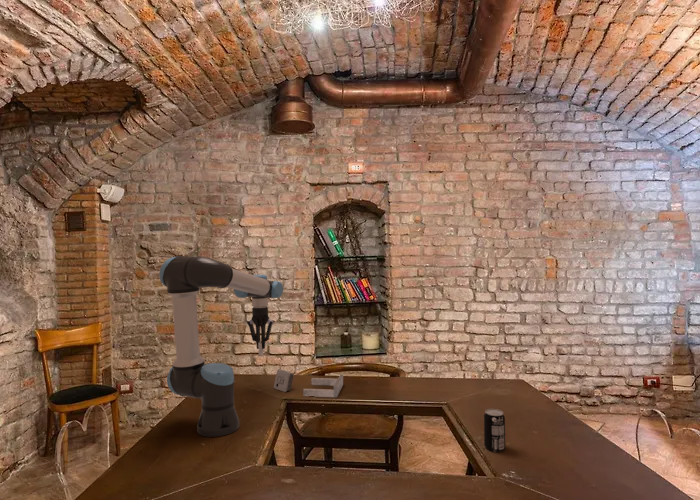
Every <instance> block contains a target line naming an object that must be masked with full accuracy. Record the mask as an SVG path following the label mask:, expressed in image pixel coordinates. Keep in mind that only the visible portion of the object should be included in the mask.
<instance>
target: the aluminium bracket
mask: <svg viewBox="0 0 700 500" xmlns="http://www.w3.org/2000/svg"><path fill="white" fill-rule="evenodd" d="M311 385H312V386H331V387H332V386H333V389H331V388H330V389H328V388H327V389H326V388H325V389H324V388H303V390H302V392H303V395H302V397H309V396H314V398H315V397H317V398H338V397H339V394H340V392H341V390H342V388H343V386H344V374H339V376H338V377H337V378H333V377H331V378H330V377H329V378H327V377H326V378H325V377H312V378H311Z"/></svg>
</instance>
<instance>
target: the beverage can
mask: <svg viewBox="0 0 700 500" xmlns="http://www.w3.org/2000/svg"><path fill="white" fill-rule="evenodd" d="M505 419H506V418H505V415H504V411H502V410H501V409H496V408H488V409H485V411H484V414H483V436H484V437H483V438H484V439H483V440H484V441H483V443H484V447H485V448H486V449H487V450H488V451H490V452H495V453H499V452H503V451H504V450H505V449H506V420H505Z"/></svg>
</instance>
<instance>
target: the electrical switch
mask: <svg viewBox="0 0 700 500" xmlns="http://www.w3.org/2000/svg"><path fill="white" fill-rule="evenodd" d="M275 373H276V374H275V378H274V384H273V389H275V390H277V391H281V392H283V393H287V391H291V390H292V383H293V379H294V375H295V374H294V373H292V372H291V371H288V370H285V369H282V368H278V369H276V372H275Z"/></svg>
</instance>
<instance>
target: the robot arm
mask: <svg viewBox="0 0 700 500" xmlns="http://www.w3.org/2000/svg"><path fill="white" fill-rule="evenodd" d="M159 269H160V270H159V273H158V275H159V277H158V278H159V280H160V283H161V284H162V285H163V286H165V287H166V290H167V294H168V295H169V296H170V297H171V300H172V301H171V302H172V313H173V314H172V316H173V325H174V326H173V328H174V343H175V360H174V361H173V363H172V366H171V367H170V368H169V371H168V373H167V376H166V384H167V387H168V390H170V392H171V393H173V394H174V395H178V396H180V397H184V398H185V397H186V398H187V397H188V398H193V399H200V400H201V411H200V414H199V417H198V421H197V424H196V432H197V434H198V435H199V436H202V437H206V438H207V437H209V438H214V437H223V436H227V435H230V434H232V433H234V432H236V431H237V430H238V429H239V428H240V419H239V416H238V412H237V411H236V408H235V375H234V369H233V368H232V366H230V365H228V364H226V363H223V362H222V363H221V362H210V363H206V361H205V358H204V357H203V356H202V355H201V349H200V335H199V320H198V307H197V295H198V293H199V292H200V290H201V288H218V289H225V288H228V289H233V293H234V295H235V296H236V298H237V297H238V299H239V298H240V299H242V298H243V299H244V298H245V299H246V298H251V306H252V308H251V311H252V312H251V313H252V316H251V318H250V320H248V321H246V324H247V325H248V327H249V332H250V335H251V340H252V342H255V343H256V350H258V357H263V356H264V354H265V353H264V350H265V349H266V342H268V341H269V340H270V337H271V331H272V327H273V324H274V323H275V321H274V320H271V319H270V316H269V307H268V305H269V298H270V299H279V298H281V297H282V296H283V293H284V285H283V283H282V282H281V281H278V280H277V281H276V280H269V279H268V276H267V275H266V274H250V273H247V272H244V271H241V270H238V269H235V268H233V267H232V266H231V265H230V264H227V263H225V262H222V261H218V260H216V259H213V258H211V257H206V256H199V255H197V256H182V255H181V256H180V255H178V256H172V257H169V258H167V259H166V260H165V261H164V262H163V263H162V264H161V267H160V268H159ZM267 324H268V325H267ZM266 325H267V328H266ZM266 329H267V330H266Z"/></svg>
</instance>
